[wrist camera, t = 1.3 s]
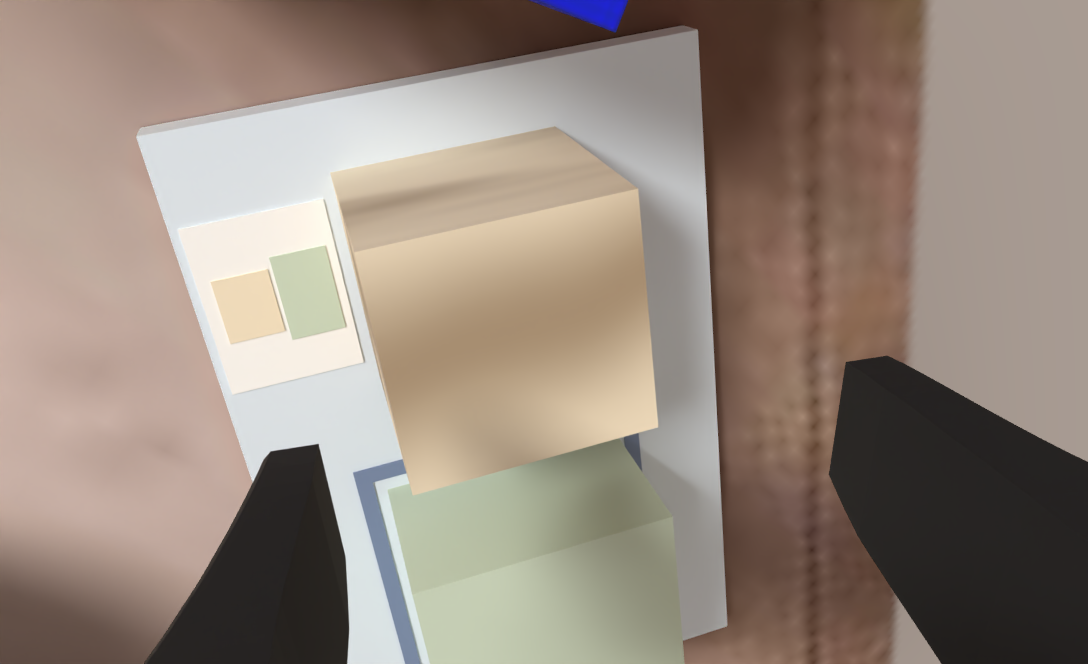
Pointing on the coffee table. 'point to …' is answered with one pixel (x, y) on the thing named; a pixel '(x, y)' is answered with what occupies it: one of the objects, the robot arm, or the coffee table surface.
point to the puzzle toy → (590, 10)
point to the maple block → (501, 302)
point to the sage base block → (544, 564)
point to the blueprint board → (335, 304)
